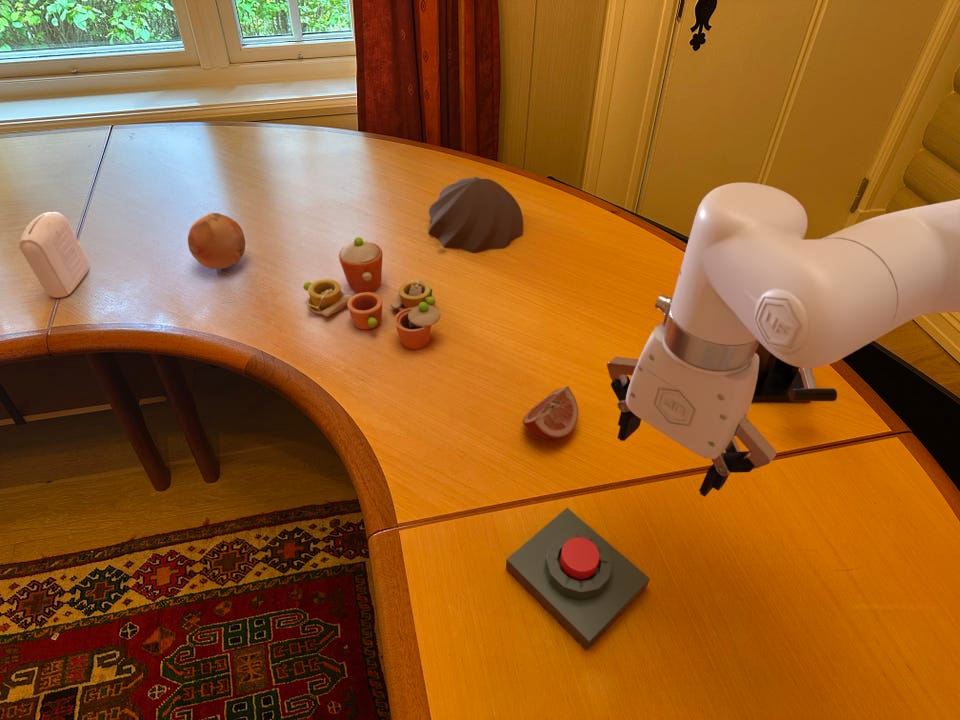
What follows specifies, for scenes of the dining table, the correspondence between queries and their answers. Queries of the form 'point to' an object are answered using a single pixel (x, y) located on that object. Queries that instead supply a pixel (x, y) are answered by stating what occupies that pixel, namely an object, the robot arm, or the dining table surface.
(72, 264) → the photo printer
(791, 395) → the lever
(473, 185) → the decorative dome
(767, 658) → the dining table surface
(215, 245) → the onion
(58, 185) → the dining table surface
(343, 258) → the toy tea set
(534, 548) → the button box
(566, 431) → the fruit slice
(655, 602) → the dining table surface
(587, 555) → the button
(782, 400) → the bracket
